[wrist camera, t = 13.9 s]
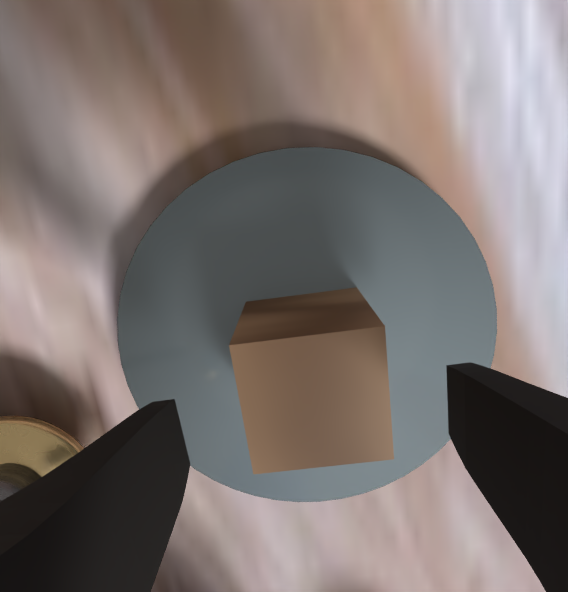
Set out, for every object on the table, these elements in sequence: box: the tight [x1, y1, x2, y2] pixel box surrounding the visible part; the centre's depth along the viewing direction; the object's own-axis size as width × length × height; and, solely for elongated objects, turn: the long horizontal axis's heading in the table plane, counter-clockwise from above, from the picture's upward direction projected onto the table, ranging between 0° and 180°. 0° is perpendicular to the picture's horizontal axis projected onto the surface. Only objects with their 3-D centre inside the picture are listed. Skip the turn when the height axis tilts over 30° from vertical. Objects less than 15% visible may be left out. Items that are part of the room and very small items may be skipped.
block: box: [229, 287, 394, 474], centre depth 12 cm, size 4×4×4 cm
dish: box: [117, 147, 497, 502], centre depth 15 cm, size 14×14×1 cm
